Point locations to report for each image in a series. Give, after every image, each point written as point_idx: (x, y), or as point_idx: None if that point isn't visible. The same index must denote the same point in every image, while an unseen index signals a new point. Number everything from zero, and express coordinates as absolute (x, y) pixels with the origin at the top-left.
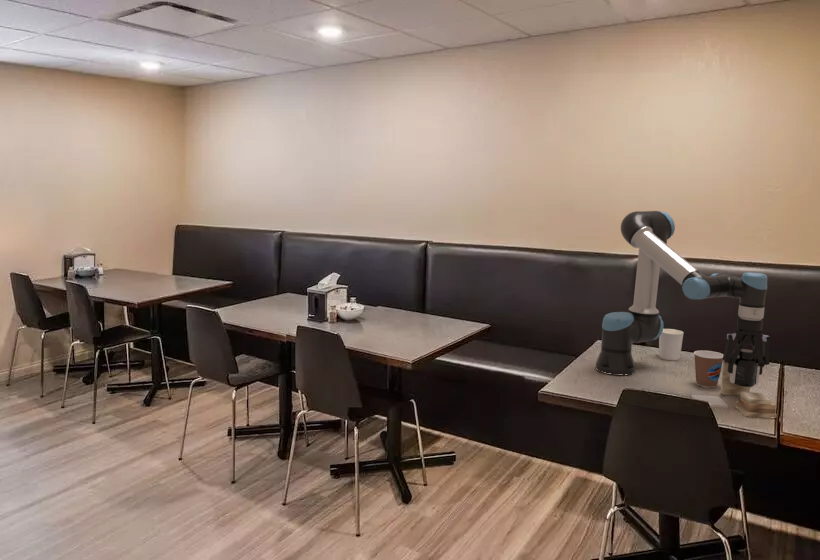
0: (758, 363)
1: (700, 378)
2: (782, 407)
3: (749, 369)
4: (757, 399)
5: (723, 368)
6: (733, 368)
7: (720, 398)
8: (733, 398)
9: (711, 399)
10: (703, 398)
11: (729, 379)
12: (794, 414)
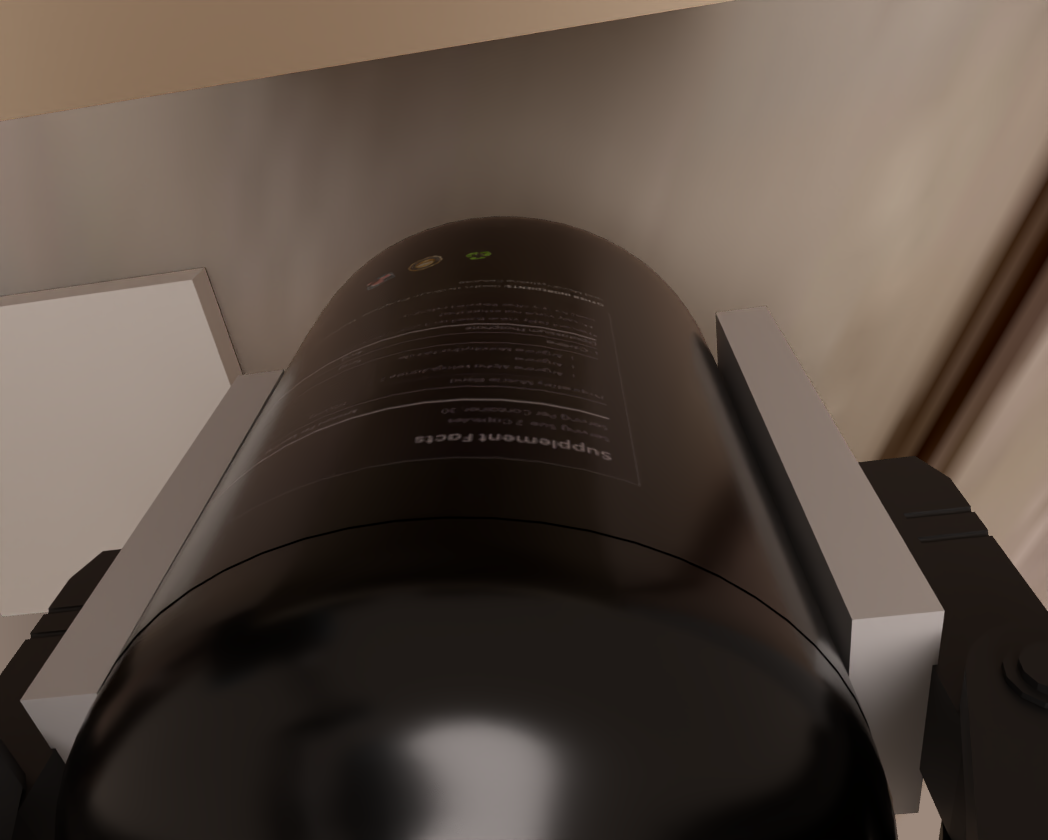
0: (955, 796)
1: None
2: (1010, 370)
3: None
4: None
5: None
6: None
7: (221, 362)
8: (422, 178)
9: (110, 436)
10: (10, 426)
11: (230, 396)
12: (1018, 565)
